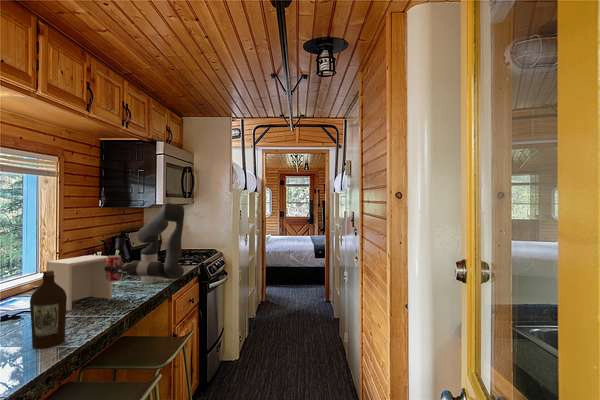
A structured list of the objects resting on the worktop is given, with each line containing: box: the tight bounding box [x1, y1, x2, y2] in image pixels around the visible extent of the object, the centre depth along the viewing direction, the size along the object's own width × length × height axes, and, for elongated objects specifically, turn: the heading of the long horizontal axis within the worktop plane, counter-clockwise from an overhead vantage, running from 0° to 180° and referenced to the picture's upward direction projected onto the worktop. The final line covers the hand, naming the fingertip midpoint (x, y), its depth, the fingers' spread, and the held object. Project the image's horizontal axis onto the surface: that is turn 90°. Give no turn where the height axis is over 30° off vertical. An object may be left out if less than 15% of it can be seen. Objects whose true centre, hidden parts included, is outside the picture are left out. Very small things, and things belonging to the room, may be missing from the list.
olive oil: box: [29, 270, 67, 349], centre depth 129 cm, size 11×11×25 cm
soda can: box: [106, 254, 123, 283], centre depth 181 cm, size 7×7×12 cm
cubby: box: [46, 254, 113, 312], centre depth 180 cm, size 15×22×21 cm
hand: (110, 267), depth 182 cm, fingers closed on soda can, 7 cm apart
